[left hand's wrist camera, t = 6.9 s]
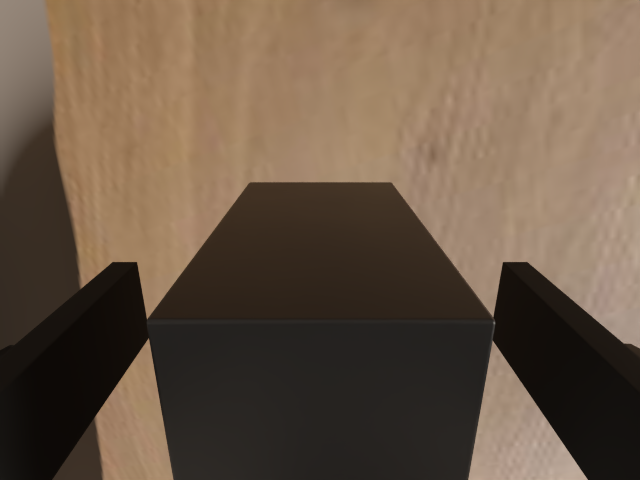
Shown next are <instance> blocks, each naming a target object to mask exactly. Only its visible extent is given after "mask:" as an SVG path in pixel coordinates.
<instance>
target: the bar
mask: <svg viewBox="0 0 640 480" xmlns="http://www.w3.org/2000/svg"><path fill="white" fill-rule="evenodd" d="M147 329H148V335H149V340H150V346H151V352H152V358H153V364H154V369H155V375H156V381H157V387H158V392H159V398H160V404H161V410H162V416H163V421H164V427H165V433H166V439H167V444H168V450H169V456H170V462H171V467H172V473H173V479H174V480H468V477H469V472H470V466H471V460H472V454H473V449H474V443H475V437H476V432H477V426H478V420H479V414H480V409H481V403H482V397H483V392H484V386H485V380H486V374H487V369H488V363H489V357H490V352H491V346H492V340H493V334H494V329H495V320H494V318H493V317H492V315H491V314H490V313H489V311H488V310H487V309H486V307H485V306H484V305H483V303H482V302H481V301H480V299H479V298H478V297H477V295H476V294H475V293H474V291H473V290H472V289H471V287H470V286H469V285H468V283H467V282H466V281H465V280H464V278H463V277H462V276H461V274H460V273H459V272H458V270H457V269H456V268H455V266H454V265H453V264H452V262H451V261H450V260H449V258H448V257H447V256H446V254H445V253H444V252H443V250H442V249H441V248H440V246H439V245H438V244H437V242H436V241H435V240H434V238H433V237H432V236H431V234H430V233H429V232H428V230H427V229H426V228H425V226H424V225H423V224H422V222H421V221H420V220H419V218H418V217H417V216H416V214H415V213H414V212H413V210H412V209H411V208H410V207H409V205H408V204H407V203H406V201H405V200H404V199H403V197H402V196H401V195H400V193H399V192H398V191H397V189H396V188H395V187H394V185H393V184H392V183H364V182H251V183H249V184H248V185H247V187H246V188H245V190H244V191H243V192H242V194H241V195H240V196H239V198H238V199H237V200H236V202H235V203H234V204H233V206H232V207H231V208H230V210H229V211H228V212H227V214H226V215H225V216H224V218H223V219H222V220H221V222H220V223H219V224H218V226H217V227H216V228H215V230H214V231H213V232H212V234H211V235H210V236H209V238H208V239H207V240H206V242H205V243H204V244H203V246H202V247H201V248H200V250H199V251H198V252H197V254H196V255H195V256H194V258H193V259H192V260H191V262H190V263H189V264H188V266H187V267H186V268H185V270H184V271H183V272H182V274H181V275H180V276H179V278H178V279H177V280H176V282H175V283H174V284H173V286H172V287H171V288H170V290H169V291H168V292H167V294H166V295H165V296H164V298H163V299H162V300H161V302H160V303H159V304H158V306H157V307H156V308H155V310H154V311H153V312H152V314H151V315H150V316H149V318H148V319H147Z"/></svg>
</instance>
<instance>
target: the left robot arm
mask: <svg viewBox="0 0 640 480" xmlns="http://www.w3.org/2000/svg"><path fill="white" fill-rule="evenodd" d="M493 318H494V320H495V329H494V334H493V341H494V343H495V344H496V346H497V347H498V349H499V350H500V352H501V353H502V354H503V356H504V357H505V359H506V360H507V362H508V363H509V365H510V366H511V368H512V369H513V371H514V372H515V374H516V375H517V376H518V378H519V379H520V381H521V382H522V384H523V385H524V387H525V388H526V390H527V391H528V393H529V394H530V395H531V397H532V398H533V400H534V401H535V403H536V404H537V406H538V407H539V409H540V410H541V412H542V413H543V415H544V416H545V417H546V419H547V420H548V422H549V423H550V425H551V426H552V428H553V429H554V431H555V432H556V434H557V435H558V437H559V438H560V439H561V441H562V442H563V444H564V445H565V447H566V448H567V450H568V451H569V453H570V454H571V456H572V457H573V458H574V460H575V461H576V463H577V464H578V466H579V467H580V469H581V470H582V472H583V473H584V475H585V476H586V478H587V479H588V480H640V349H639V348H638V347H636V346H634V345H632V344H623V343H622V342H621V341H620V340H619V339H618V338H616V337H615V336H614V335H613V334H612V333H610V332H609V331H608V330H607V329H606V328H605V327H603V326H602V325H601V324H600V323H599V322H597V321H596V320H595V319H594V318H593V317H592V316H590V315H589V314H588V313H587V312H586V311H584V310H583V309H582V308H581V307H580V306H579V305H577V304H576V303H575V302H574V301H573V300H571V299H570V298H569V297H568V296H567V295H565V294H564V293H563V292H562V291H561V290H560V289H558V288H557V287H556V286H555V285H554V284H552V283H551V282H550V281H549V280H548V279H547V278H545V277H544V276H543V275H542V274H541V273H539V272H538V271H537V270H536V269H535V268H534V267H532V266H531V265H530V264H529V263H528V262H503V265H502V271H501V277H500V283H499V288H498V294H497V300H496V306H495V312H494V317H493ZM148 338H149V335H148V329H147V317H146V311H145V306H144V300H143V294H142V288H141V283H140V277H139V271H138V265H137V262H112V263H111V264H110V265H109V266H108V267H106V268H105V269H104V270H103V271H102V272H101V273H99V274H98V275H97V276H96V277H95V278H93V279H92V280H91V281H90V282H89V283H88V284H86V285H85V286H84V287H83V288H82V289H80V290H79V291H78V292H77V293H76V294H75V295H73V296H72V297H71V298H70V299H69V300H67V301H66V302H65V303H64V304H63V305H62V306H60V307H59V308H58V309H57V310H56V311H55V312H53V313H52V314H51V315H50V316H48V317H47V318H46V319H45V320H44V321H43V322H41V323H40V324H39V325H38V326H37V327H36V328H34V329H33V330H32V331H31V332H30V333H28V334H27V335H26V336H25V337H24V338H22V339H21V340H20V341H19V342H18V343H17V344H15V345H9V346H7V347H6V348H4V349H2V350H0V480H52V479H53V478H54V476H55V475H56V473H57V472H58V470H59V469H60V467H61V466H62V464H63V463H64V461H65V460H66V458H67V457H68V456H69V454H70V452H71V451H72V450H73V448H74V447H75V445H76V444H77V442H78V441H79V439H80V438H81V437H82V435H83V434H84V432H85V431H86V429H87V428H88V426H89V425H90V423H91V422H92V420H93V419H94V417H95V416H96V415H97V413H98V412H99V410H100V409H101V407H102V406H103V404H104V403H105V401H106V400H107V398H108V397H109V395H110V394H111V393H112V391H113V390H114V388H115V387H116V385H117V384H118V382H119V381H120V379H121V378H122V376H123V375H124V374H125V372H126V371H127V369H128V368H129V366H130V365H131V363H132V362H133V360H134V359H135V357H136V356H137V354H138V353H139V352H140V350H141V349H142V347H143V346H144V344H145V343H146V341H147V340H148Z"/></svg>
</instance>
